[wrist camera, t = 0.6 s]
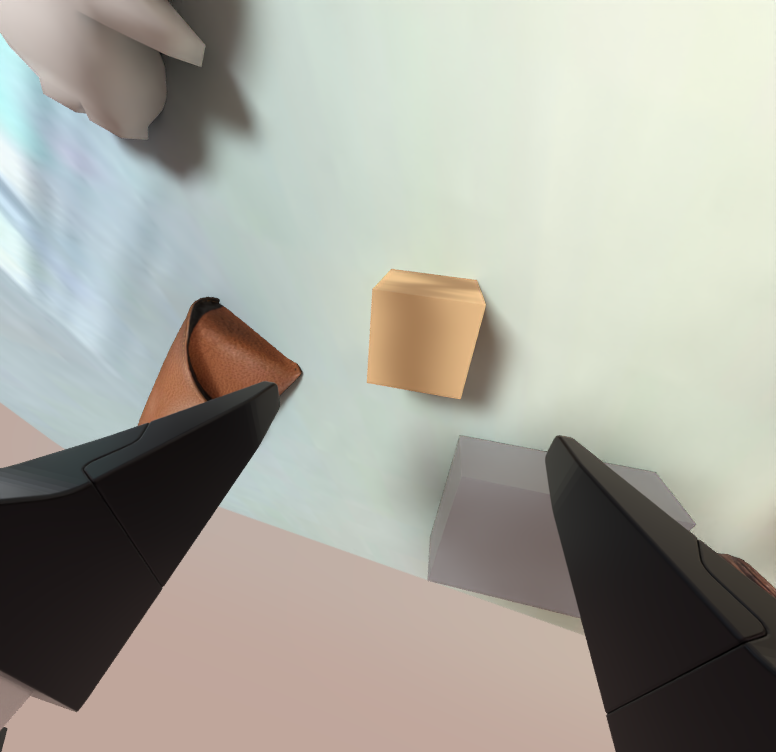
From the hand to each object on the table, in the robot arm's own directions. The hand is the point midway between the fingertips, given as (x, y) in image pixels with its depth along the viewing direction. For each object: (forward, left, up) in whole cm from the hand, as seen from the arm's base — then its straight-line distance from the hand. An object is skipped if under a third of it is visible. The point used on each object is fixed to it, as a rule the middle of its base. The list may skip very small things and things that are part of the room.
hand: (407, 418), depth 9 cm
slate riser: (-11, +16, -10) cm, 22 cm away
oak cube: (0, 0, -10) cm, 10 cm away
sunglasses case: (+17, +10, -11) cm, 23 cm away
